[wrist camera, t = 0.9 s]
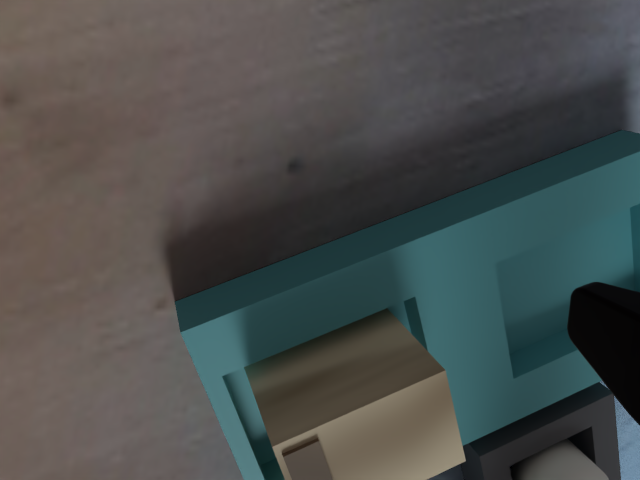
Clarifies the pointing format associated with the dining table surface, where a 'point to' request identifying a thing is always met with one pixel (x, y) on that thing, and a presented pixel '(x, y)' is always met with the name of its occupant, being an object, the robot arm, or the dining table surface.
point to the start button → (557, 465)
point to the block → (358, 405)
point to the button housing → (550, 436)
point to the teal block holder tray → (441, 292)
